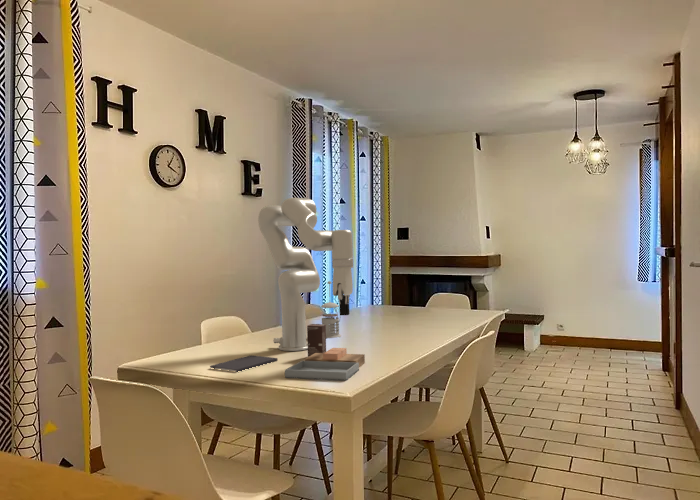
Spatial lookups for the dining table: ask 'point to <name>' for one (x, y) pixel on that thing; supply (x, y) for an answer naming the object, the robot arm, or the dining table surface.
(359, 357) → the brown slab
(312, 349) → the box
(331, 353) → the tile
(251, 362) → the notebook
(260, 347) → the dining table surface
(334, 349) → the tile
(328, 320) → the french press
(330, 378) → the tray
